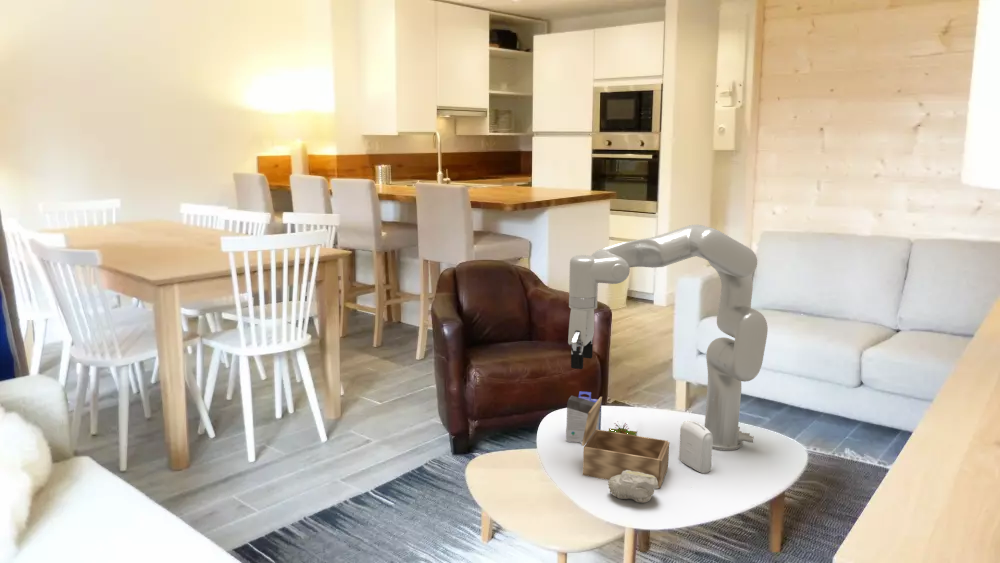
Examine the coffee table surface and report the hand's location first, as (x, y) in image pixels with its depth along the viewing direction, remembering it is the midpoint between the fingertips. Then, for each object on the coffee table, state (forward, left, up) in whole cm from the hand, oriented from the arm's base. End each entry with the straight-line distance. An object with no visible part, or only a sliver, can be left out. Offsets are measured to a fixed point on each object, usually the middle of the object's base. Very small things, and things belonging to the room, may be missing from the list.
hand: (581, 362), depth 205 cm
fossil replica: (-19, +16, -29) cm, 38 cm away
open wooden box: (-14, +2, -28) cm, 31 cm away
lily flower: (-7, -21, -29) cm, 36 cm away
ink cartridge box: (+2, -14, -29) cm, 32 cm away
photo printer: (-31, -9, -29) cm, 43 cm away
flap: (-4, +2, -15) cm, 16 cm away
